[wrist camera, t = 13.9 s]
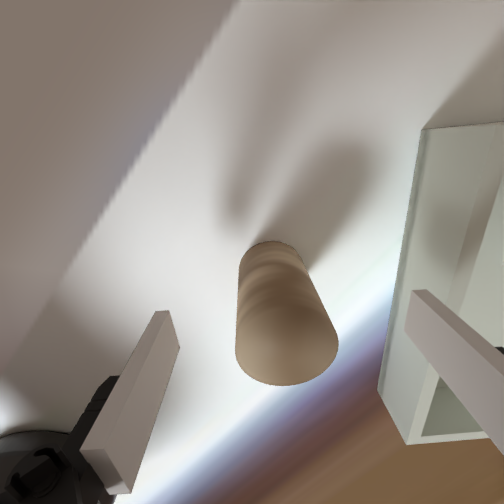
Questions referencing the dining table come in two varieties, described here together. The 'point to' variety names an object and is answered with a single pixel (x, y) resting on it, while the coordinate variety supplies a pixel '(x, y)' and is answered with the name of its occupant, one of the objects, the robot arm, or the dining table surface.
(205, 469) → the dining table surface
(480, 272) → the tote
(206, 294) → the dining table surface
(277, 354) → the beech cylinder
